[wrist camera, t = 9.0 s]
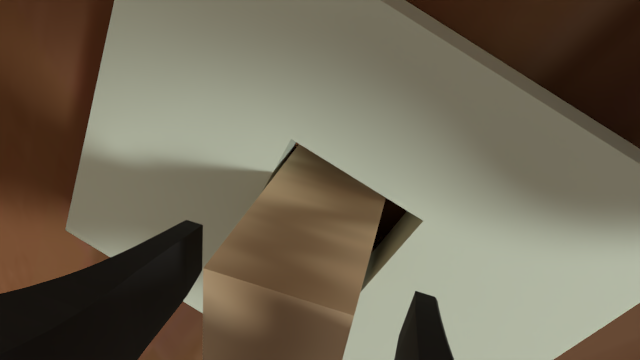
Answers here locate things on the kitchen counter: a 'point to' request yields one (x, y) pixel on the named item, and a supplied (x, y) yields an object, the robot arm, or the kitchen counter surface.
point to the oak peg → (292, 267)
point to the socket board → (369, 162)
